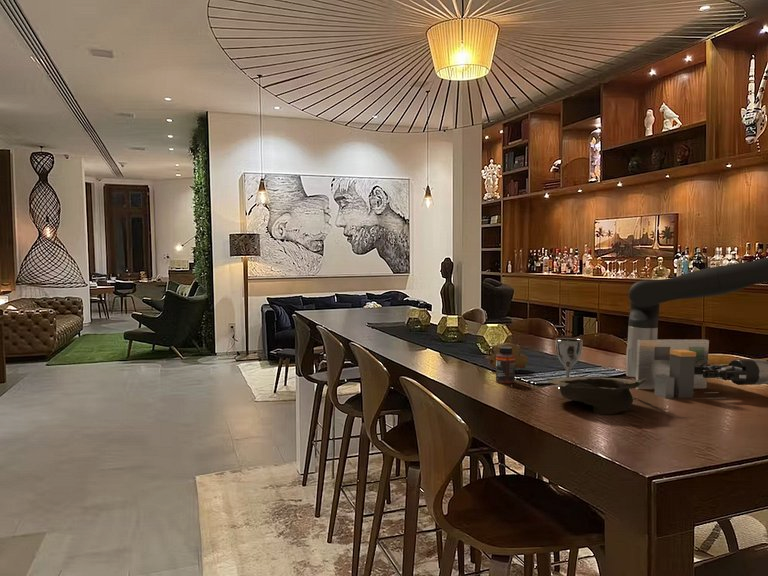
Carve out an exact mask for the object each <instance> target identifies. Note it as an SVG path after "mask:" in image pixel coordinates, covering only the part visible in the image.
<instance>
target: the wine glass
mask: <svg viewBox="0 0 768 576" xmlns="http://www.w3.org/2000/svg"><path fill="white" fill-rule="evenodd" d="M554 348H555V353H556V357H557V358H558V360H559V361H560V363H561V364H562V366H563V367H564V370H565V378H570V372H571V369H572V367H573V366H574V365H575V364H576V363H577V362H578V361H579V360H580V358H581V355H582V351H583V339H579V338H572V337H556V338H555V347H554ZM554 386H555V389H558V390H560V385H557V384H556V385H554Z"/></svg>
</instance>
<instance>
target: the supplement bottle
mask: <svg viewBox="0 0 768 576" xmlns="http://www.w3.org/2000/svg"><path fill="white" fill-rule="evenodd" d="M499 351H500V352H499V353H498V354H497V355H496V369H495V382H496V383H498V384H504V385H510V384H514V383H515V379H516V378H515V373H516V368H515V355H514V354H512V347H499Z"/></svg>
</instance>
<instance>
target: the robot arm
mask: <svg viewBox="0 0 768 576" xmlns="http://www.w3.org/2000/svg"><path fill="white" fill-rule="evenodd" d="M763 283H768V256H767V257H764V258H761V259H756V260H752V261H746V262H737V263H731V264H725V265H718V266H712V267H707V268H702V269H698V270H694V271H690V272H687V273H683V274H681V275H678V276H674V277H669V278H663V279H655V280H654V279H653V280H652V279H651V280H649V279H648V280H646V279H645V280H644V279H643V280H639V281H636V282H635V283H633V284H632V285H631V286H630V289H629V290H628V299H629V300H630V304H629V305H630V308H629V309H630V310H629V316H628V329H627V346H626V352H625V353H626V354H625V355H626V358H625V375H626V377H631V378H635V379H636V364H637V342H638V340H658V332H659V331H658V327H659V325H658V324H659V316H660V304H663V303H667V302H669V301H675V300H690V299H691V300H692V299H699V298H700V299H701V298H708V297H716V296H721V295H726V294H730V293H734V292H737V291H741V290H743V289H745V288H748V287H750V286H751V287H752V286H754V285H758V284H763ZM694 375H703V377H704V378H707V379H717V380H723V381H731V382H732V383H733V384H734V385H737V386H757V385H758V386H759V385H760V386H761V385H768V359H761V358H760V359H759V358H736V359H732V360H731V361H730V362H729V363H728V364H726V363H721V364H716V363H708V364H702V365H700V367H695V368H694Z"/></svg>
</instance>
